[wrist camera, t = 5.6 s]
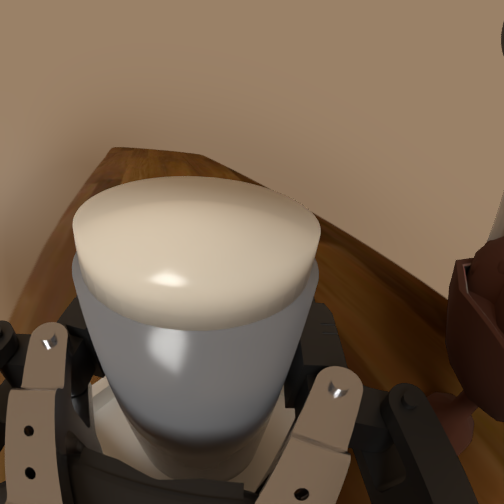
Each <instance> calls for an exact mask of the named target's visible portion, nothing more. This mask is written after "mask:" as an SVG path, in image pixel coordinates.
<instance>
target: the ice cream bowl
mask: <svg viewBox="0 0 504 504" xmlns="http://www.w3.org/2000/svg"><path fill="white" fill-rule="evenodd" d="M445 343H446V348H447V352H448V357H449V361H450V364H451V366H452V368H453V370H454V372H455V374H456V376H457V378H458V380H459V382H460V383H461V385H462V387H463V389H464V390H463V391H462V392H461V393H460V394H459V395H458V396H457V397H455V396H454V395H453V394H449V393H440V392H434V393H433V394H431V395H429V396H428V397H426V398H427V399H428V401H429V403H430V405H431V406H432V408H433V410H434V412H435V414H436V416H437V417H438V419H439V421H440V423H441V425H442V427H443V429H444V431H445V432H446V434H447V436H448V438H449V440H450V442H451V444H452V446H453V448H454V450H455V452H456V454H457V456H458V455H459V454H460V453H461V452H462V451H463V450H464V449H465V448H466V447H467V446H468V445H469V444H470V442H471V441H472V436H473V428H474V421H473V418H472V416H471V414H472V413H473V412H474V411H475V410H476V409H477V408H478V407H480V408H481V409H482V410H483V411H485V412H486V413H487V414H488V415H490V416H491V417H492V418H494V419H495V420H496V421H501V422H504V236H503V237H500V238H497V239H495V240H490V241H488V242H487V243H486V244H485V245H484V246H483V247H482V248H481V249H480V250H478V251H477V252H476V254H475V256H474V258H469V259H462V260H456V262H455V266H454V271H453V274H452V278H451V282H450V286H449V296H448V307H447V325H446V339H445Z"/></svg>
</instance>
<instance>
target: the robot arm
mask: <svg viewBox="0 0 504 504" xmlns="http://www.w3.org/2000/svg"><path fill="white" fill-rule="evenodd" d="M501 45H502V52H503V55H504V23H503V28H502V34H501ZM503 236H504V192H503V195H502V199H501V202H500V206H499V209H498V212H497V215H496V218H495V221H494V224H493V227H492V230H491V232H490V235H489V238H488V240H487V242H488V241H490V240H495V239H497V238H500V237H503ZM0 372H1V373H2V374H3V376H4V377H5V380H4V381H3V383H2V384H1V385H0V451H1V450H2V448H3V446H4V445H5V474H6V481H4V482H2V483H0V504H335V503H336V501H337V498H338V496H339V493H340V490H341V488H342V485H343V482H344V479H345V477H346V474H347V471H348V468H349V465H350V460H351V455H350V453H348V452H347V449H348V448H352V449H353V452H354V455H355V457H356V460H357V463H358V466H359V469H360V472H361V474H362V477H363V480H364V483H365V486H366V489H367V492H368V495H369V497H370V500H371V503H372V504H478V501H477V499H476V497H475V494H474V492H473V489H472V487H471V485H470V482H469V480H468V478H467V476H466V473H465V471H464V469H463V467H462V465H461V463H460V461H459V458H458V456H457V454H456V452H455V450H454V448H453V446H452V444H451V442H450V440H449V438H448V436H447V434H446V432H445V431H444V429H443V427H442V425H441V423H440V421H439V419H438V417H437V416H436V414H435V412H434V410H433V408H432V406H431V405H430V403H429V401H428V399H427V398H426V396H425V394H424V393H423V392H422V391H421V390H420V389H419V388H418V387H416V386H414V385H412V384H408V383H401V384H397V385H396V386H394V387H393V388H392V389H391V390H390V392H386V391H382V390H378V389H373V388H369V387H366V386H364V385H362V382H361V380H360V379H359V377H358V376H357V375H356V374H355V373H354V372H352V371H351V370H349V369H348V368H347V364H346V360H345V356H344V353H343V349H342V346H341V342H340V339H339V335H338V332H337V328H336V326H335V321H334V318H333V315H332V313H331V311H330V310H329V309H328V308H327V307H326V305H325V304H324V303H315V299H314V297H313V300H312V303H311V306H310V310H309V313H308V316H307V319H306V322H305V325H304V328H303V331H302V334H301V337H300V340H299V343H298V346H297V349H296V352H295V355H294V357H293V360H292V363H291V366H290V369H289V371H288V374H287V377H286V379H285V382H284V398H285V408H295V419H294V421H293V423H292V425H291V427H290V429H289V431H288V433H287V435H286V437H285V439H284V441H283V443H282V445H281V447H280V448H279V450H278V452H277V454H276V456H275V458H274V460H273V462H272V463H271V465H270V467H269V469H268V470H267V472H266V474H265V475H264V477H263V478H262V480H261V482H260V483H259V485H258V487H257V489H256V490H255V492H251V491H247V490H244V483H239V482H227V481H217V480H209V479H202V478H200V479H180V480H158V479H154V478H152V477H150V476H148V475H146V474H144V473H142V472H140V471H138V470H136V469H135V468H133V467H131V466H129V465H127V464H126V463H124V462H122V461H120V460H119V459H116V458H113V457H110V456H107V455H104V454H103V451H102V448H101V445H100V442H99V440H98V438H97V435H96V431H95V422H94V411H93V397H92V386H91V383H90V380H91V378H92V376H93V375H95V376H98V377H102V378H104V377H105V373H104V371H103V369H102V366H101V364H100V361H99V359H98V356H97V353H96V351H95V348H94V345H93V343H92V340H91V337H90V334H89V331H88V328H87V325H86V322H85V319H84V316H83V313H82V309H81V306H80V303H79V299H78V295H77V297H76V298H74V300H73V301H72V302H71V304H70V305H69V306H68V307H67V309H66V310H65V311H64V313H63V314H62V316H61V317H60V318H59V320H58V321H57V322H56V323H55V322H49V323H45V324H42V325H41V326H39V327H37V328H36V329H35V330H34V331H33V333H32V335H31V334H16V333H15V331H14V329H13V327H12V325H11V324H10V323H9V322H7V321H0Z"/></svg>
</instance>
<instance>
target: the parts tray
mask: <svg viewBox="0 0 504 504" xmlns="http://www.w3.org/2000/svg"><path fill="white" fill-rule="evenodd" d="M92 397H93V411H94V422H95V431H96V435H97V438H98V440H99V442H100V445H101V448H102V451H103V454H104V455H107V456H110V457H113V458H116V459H119V460H120V461H122V462H124V463H126V464H127V465H129V466H131V467H133V468H135V469H136V470H138V471H140V472H142V473H144V474H146V475H148V476H150V477H152V478H154V479H158V480H174V479H172V478H170V477H168V476H166V475H165V474H163V473H162V472H161V471H159V470H158V469H157V468H156V467H155V466H154V465H153V463H152V462H151V461H150V460H149V458H148V456H147V455H146V453H145V452H144V450H143V448H142V447H141V445H140V443H139V442H138V440H137V438H136V436H135V435H134V433H133V431H132V429H131V427H130V425H129V424H128V422H127V420H126V418H125V416H124V414H123V412H122V410H121V408H120V406H119V404H118V402H117V400H116V398H115V396H114V394H113V392H112V389H111V387H110V385H109V383H108V380H107V378H106V376H105V377H104V378H102V379H100V380H99V381H97V382H96V383H95V384H93V385H92ZM294 419H295V408H285V398H284V385H283V387H282V390H281V393H280V395H279V398H278V400H277V403H276V405H275V408H274V410H273V413H272V415H271V418H270V420H269V423H268V425H267V427H266V430H265V432H264V434H263V437H262V439H261V441H260V444H259V446H258V448H257V451H256V453H255V455H254V457H253V459H252V461H251V462H250V464H249V465H248V467H247V468H246V469H245V470H244V471H243V472H242V473H240V474H239V475H238V476H236V477H234V478H233V479H231V480H229V481H227V482H239V483H244V490H247V491H251V492H255V490H256V489H257V487H258V485H259V483H260V482H261V480H262V478H263V477H264V475H265V474H266V472H267V470H268V469H269V467H270V465H271V463H272V462H273V460H274V458H275V456H276V454H277V452H278V450H279V448H280V447H281V445H282V443H283V441H284V439H285V437H286V435H287V433H288V431H289V429H290V427H291V425H292V423H293V421H294Z"/></svg>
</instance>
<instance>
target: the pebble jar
mask: <svg viewBox="0 0 504 504" xmlns="http://www.w3.org/2000/svg"><path fill="white" fill-rule="evenodd" d="M73 232H74V238H75V244H76V250H77V251H76V254H75V256H74V259H73V264H72V276H73V280H74V284H75V288H76V292H77V295H78V299H79V303H80V306H81V309H82V313H83V316H84V319H85V322H86V325H87V328H88V331H89V334H90V337H91V340H92V343H93V345H94V348H95V351H96V353H97V356H98V359H99V361H100V364H101V366H102V369H103V371H104V373H105V376H106V378H107V380H108V383H109V385H110V387H111V389H112V392H113V394H114V396H115V398H116V400H117V402H118V404H119V406H120V408H121V410H122V412H123V414H124V416H125V418H126V420H127V422H128V424H129V425H130V427H131V429H132V431H133V433H134V435H135V436H136V438H137V440H138V442H139V443H140V445H141V447H142V448H143V450H144V452H145V453H146V455H147V456H148V458H149V460H150V461H151V462H152V463H153V465H154V466H155V467H156V468H157V469H158V470H159V471H161V472H162V473H163V474H165V475H166V476H168V477H170V478H172V479H174V480H180V479H200V478H202V479H209V480H217V481H229V480H231V479H233V478H234V477H236V476H238V475H239V474H240V473H242V472H243V471H244V470H245V469H246V468H247V467H248V465H249V464H250V462H251V461H252V459H253V457H254V455H255V453H256V451H257V448H258V446H259V444H260V441H261V439H262V437H263V434H264V432H265V430H266V427H267V425H268V423H269V420H270V418H271V415H272V413H273V410H274V408H275V405H276V403H277V400H278V398H279V395H280V393H281V390H282V387H283V385H284V382H285V379H286V377H287V374H288V371H289V369H290V366H291V363H292V360H293V357H294V355H295V352H296V349H297V346H298V343H299V340H300V337H301V334H302V331H303V328H304V325H305V322H306V319H307V316H308V313H309V310H310V306H311V303H312V300H313V297H314V294H315V290H316V287H317V283H318V280H319V270H318V265H317V262H316V260H315V254H316V250H317V246H318V242H319V238H320V225H319V222H318V220H317V219H316V217H315V216H314V214H313V213H312V212H311V211H310V210H309V209H307V208H306V207H305V206H303V205H302V204H300V203H299V202H297V201H296V200H293V199H292V198H290V197H288V196H286V195H283V194H281V193H279V192H276V191H273V190H271V189H268V188H264V187H261V186H258V185H254V184H250V183H245V182H240V181H235V180H229V179H221V178H212V177H196V176H176V177H160V178H152V179H145V180H139V181H134V182H130V183H126V184H122V185H119V186H115V187H113V188H110V189H107V190H105V191H103V192H101V193H99V194H97V195H95V196H93V197H92V198H90V199H89V200H87V201H86V202H85V203H84V204H83V205H82V206H81V207H80V208H79V209H78V211H77V212H76V214H75V216H74V219H73Z"/></svg>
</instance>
